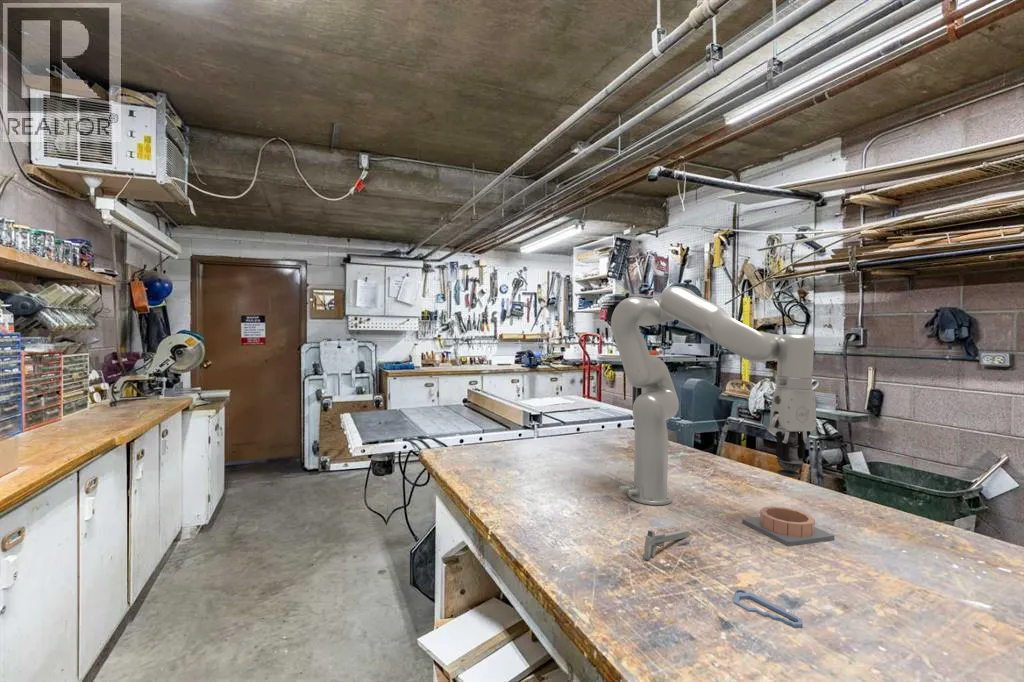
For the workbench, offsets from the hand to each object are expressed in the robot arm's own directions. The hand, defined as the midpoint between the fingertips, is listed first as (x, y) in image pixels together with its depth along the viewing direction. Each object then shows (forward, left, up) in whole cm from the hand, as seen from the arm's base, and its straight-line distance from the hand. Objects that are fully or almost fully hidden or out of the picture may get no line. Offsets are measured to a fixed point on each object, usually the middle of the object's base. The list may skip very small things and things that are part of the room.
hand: (790, 456), depth 116 cm
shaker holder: (0, 0, -19) cm, 19 cm away
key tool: (-33, -26, -19) cm, 46 cm away
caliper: (-34, 0, -19) cm, 39 cm away
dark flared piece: (0, 0, -5) cm, 5 cm away
